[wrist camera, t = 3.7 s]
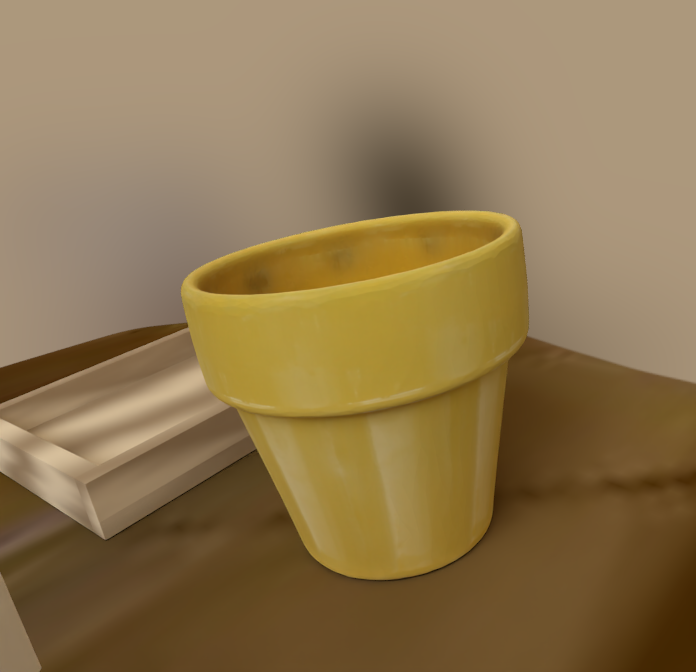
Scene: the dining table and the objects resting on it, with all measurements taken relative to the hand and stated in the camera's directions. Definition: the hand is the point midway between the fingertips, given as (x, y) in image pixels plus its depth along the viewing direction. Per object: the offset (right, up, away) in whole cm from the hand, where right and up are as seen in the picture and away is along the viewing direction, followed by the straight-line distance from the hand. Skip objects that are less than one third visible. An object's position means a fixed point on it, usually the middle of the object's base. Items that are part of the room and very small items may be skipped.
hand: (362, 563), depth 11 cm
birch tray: (-10, -1, +24) cm, 26 cm away
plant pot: (+2, -3, +11) cm, 12 cm away
